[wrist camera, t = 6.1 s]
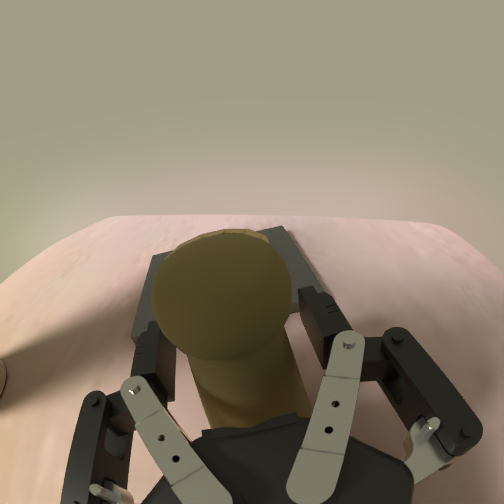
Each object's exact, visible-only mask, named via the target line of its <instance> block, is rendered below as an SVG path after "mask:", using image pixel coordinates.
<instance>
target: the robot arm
mask: <svg viewBox="0 0 504 504" xmlns="http://www.w3.org/2000/svg"><path fill="white" fill-rule="evenodd" d="M298 299H299V310H300V316H301V320H302V322H303V325H304V327H305V329H306V332H307V334H308V336H309V338H310V341H311V343H312V345H313V347H314V350H315V352H316V354H317V357H318V359H319V361H320V363H321V366H322V368H323V370H325V369H327V370H326V374H325V375H324V376H323V378H322V382H321V385H320V389H319V392H318V396H317V399H316V403H315V406H314V409H313V413H312V416H311V418H310V417H298V415H297V412H292V413H288V414H285V415H280V416H276V417H273V418H270V419H268V420H266V421H264V422H262V423H260V424H257V425H255V426H253V427H250V428H236V427H221V428H214V429H207V430H202V437H199V438H197V439H195V440H194V441H191V440H190V438H189V437H188V436H187V435H186V433H185V432H184V431H183V429H182V428H181V427H180V425H179V424H178V423H177V421H176V420H175V419H174V417H173V416H172V414H171V413H170V411H169V410H168V409H167V402H171V401H175V369H176V346H175V345H174V344H172V343H171V342H170V341H169V340H168V339H167V338H166V337H165V336H164V334H163V333H162V331H161V329H160V327H159V325H158V323H157V321H156V320H151V321H149V322H148V328H147V331H145V332H142V333H141V334H140V336H139V338H138V339H137V343H136V349H135V353H134V354H135V355H134V358H133V364H132V370H131V376H130V378H128V379H127V380H125V381H124V382H123V384H122V386H121V389H120V390H119V391H117V392H115V393H112V394H109V395H107V396H106V395H105V394H104V393H103V392H101V391H92V392H90V393H89V394H88V395H87V396H86V397H85V398H84V400H83V403H82V406H81V410H80V414H79V417H78V421H77V425H76V428H75V432H74V436H73V440H72V445H71V449H70V453H69V458H68V463H67V467H66V473H65V478H64V484H63V489H62V496H61V503H60V504H135V503H134V499H133V497H132V495H131V493H130V492H129V491H127V483H128V473H129V464H130V455H131V447H132V440H133V433H134V431H135V430H137V432H138V433H139V435H140V437H141V439H142V440H143V442H144V444H145V446H146V447H147V449H148V451H149V452H150V454H151V455H152V457H153V459H154V460H155V462H156V463H157V465H158V466H159V468H160V470H161V471H162V473H163V474H164V475H163V476H162V478H161V479H160V480H159V481H158V483H157V484H156V485H155V487H154V488H153V489H152V490H151V492H150V493H149V494H148V495H147V497H146V498H145V499H144V500H143V502H142V503H141V504H412V497H413V492H414V485H415V484H417V483H418V482H420V481H422V480H423V479H425V478H426V477H428V476H430V475H431V474H433V473H434V472H436V471H437V470H444V469H446V468H448V467H449V466H450V465H452V464H453V463H454V462H455V461H457V460H458V459H459V458H460V457H462V456H463V455H464V454H465V453H467V452H468V451H469V450H470V449H471V448H472V447H474V446H475V445H476V444H477V443H478V442H479V441H480V439H481V437H482V434H483V427H482V424H481V422H480V420H479V419H478V417H477V416H476V415H475V413H474V412H473V411H472V409H471V408H470V407H469V405H468V404H467V403H466V401H465V400H464V399H463V397H462V396H461V395H460V393H459V392H458V391H457V390H456V388H455V387H454V386H453V384H452V383H451V382H450V381H449V379H448V378H447V377H446V376H445V374H444V373H443V372H442V371H441V369H440V368H439V367H438V366H437V364H436V363H435V362H434V361H433V360H432V358H431V357H430V356H429V355H428V354H427V352H426V351H425V350H424V349H423V348H422V346H421V345H420V344H419V343H418V342H417V341H416V339H415V338H414V337H413V336H412V335H411V334H410V332H409V331H407V330H406V329H404V328H401V327H393V328H390V329H388V330H386V331H385V332H384V334H383V337H370V338H368V337H363V336H362V335H361V334H360V333H358V332H356V331H353V329H352V328H351V326H350V325H349V323H348V321H347V320H346V318H345V316H344V315H343V313H342V312H341V310H340V308H339V307H338V305H337V304H336V302H335V300H334V299H333V297H332V296H330V295H329V294H327V293H326V292H322V293H317V291H316V290H315V288H314V286H313V285H309V286H305V287H301V288H298ZM5 380H6V369H5V366H4V364H3V363H2V361H1V360H0V395H1V393H2V391H3V388H4V385H5ZM363 381H377V382H378V384H379V385H380V387H381V389H382V390H383V392H384V393H385V395H386V396H387V398H388V400H389V401H390V403H391V404H392V406H393V407H394V409H395V411H396V412H397V414H398V415H399V417H400V419H401V420H402V422H403V423H404V425H405V427H406V428H407V430H408V433H407V435H406V436H405V439H404V448H405V451H406V459H405V462H402V461H401V460H399V459H397V458H395V457H392V456H390V455H388V454H386V453H384V452H382V451H380V450H378V449H375V448H373V447H371V446H369V445H367V444H365V443H363V442H361V441H359V440H358V439H356V438H354V437H352V436H350V435H349V434H350V429H351V425H352V420H353V416H354V411H355V406H356V400H357V395H358V389H359V383H360V382H363Z"/></svg>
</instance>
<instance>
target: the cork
mask: <svg viewBox="0 0 504 504" xmlns="http://www.w3.org/2000/svg"><path fill="white" fill-rule="evenodd" d="M150 299H151V305H152V310H153V313H154V316H155V318H156V321H157V323H158V325H159V327H160V329H161V331H162V333H163V334H164V336H165V337H166V338H167V339H168V340H169V341H170V342H171V343H172V344H174V345H175V346H176V347H177V348H178V349H179V350H181V351H182V352H183V353H184V354H187V357H188V361H189V364H190V367H191V371H192V374H193V377H194V380H195V383H196V386H197V389H198V392H199V395H200V398H201V401H202V404H203V407H204V410H205V413H206V416H207V418H208V421H209V424H210V427H211V429H214V428H221V427H236V428H250V427H253V426H255V425H257V424H260V423H262V422H264V421H266V420H268V419H270V418H273V417H276V416H280V415H285V414H288V413H292V412H297V415H298V417H310V404H309V400H308V397H307V394H306V391H305V388H304V385H303V382H302V379H301V376H300V373H299V370H298V367H297V364H296V361H295V358H294V355H293V352H292V349H291V346H290V343H289V340H288V337H287V334H286V331H285V328H284V325H285V323H286V321H287V319H288V317H289V314H290V309H291V304H292V284H291V276H290V273H289V271H288V269H287V266H286V264H285V262H284V260H283V259H282V257H281V255H280V254H279V253H278V252H277V251H276V250H275V248H274V247H273V246H272V245H270V244H269V243H267V242H266V241H264V240H263V239H261V238H257V237H253V236H250V235H245V234H232V233H228V234H219V235H213V236H209V237H205V238H201V239H198V240H196V241H193V242H191V243H188V244H186V245H185V246H183V247H181V248H179V249H178V250H176V251H175V252H174V253H172V254H171V255H170V256H169V257H168V258H167V259H166V260H164V261H163V262H162V263H161V265H160V266H159V268H158V269H157V271H156V272H155V275H154V279H153V284H152V290H151V295H150Z"/></svg>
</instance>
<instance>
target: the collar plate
mask: <svg viewBox="0 0 504 504" xmlns="http://www.w3.org/2000/svg"><path fill="white" fill-rule="evenodd" d="M228 233H232V234H245V235H250V236H253V237H257V238H261V239H263V240H264V241H266V242H267V243H269V244H270V245H272V246H273V247H274V248H275V250H276V251H277V252H278V253H279V254H280V255H281V257H282V259H283V260H284V262H285V264H286V266H287V269H288V271H289V273H290V276H291V284H292V304H291V309H290V314H291V313H295V312H299V311H300V310H299V299H298V288H301V287H305V286H309V285H313V286H314V288H315V290H316V291H317V293H322V292H324V290H323V288H322V287H321V285H320V284H319V282H318V280H317V279H316V277H315V276H314V274H313V272H312V271H311V269H310V268H309V266H308V264H307V263H306V261H305V260H304V258H303V257H302V255H301V253H300V252H299V250H298V249H297V247H296V246H295V244H294V243H293V241H292V239H291V238H290V236H289V235H288V233H287V232H286V230H285V229H284V227H283V226H278V227H274V228H269V229H265V230H260V231H256V232H255V231H253V230H250V229H223V230H218V231H214V232H210V233H205V234H202V235H199V236H197V237H195V238H193V239H191V240H189V241H187V242H184V243H182V244H180V245H179V246H178V247H177V248H176V249H175V250H173V251H169V252H165V253H161V254H157V255H153V256H152V260H151V263H150V266H149V270H148V273H147V277H146V280H145V284H144V287H143V291H142V295H141V299H140V303H139V306H138V310H137V314H136V318H135V323H134V327H133V331H132V335H131V338H132V340H133V341H134V343H135V345H136V343H137V339H138V338H139V336H140V334H141V333H142V332H145V331H147V328H148V322H149V321H151V320H156V318H155V316H154V313H153V310H152V305H151V299H150V295H151V290H152V284H153V279H154V275H155V272H156V271H157V269H158V268H159V266H160V265H161V263H162V262H163V261H164V260H166V259H167V258H168V257H169V256H170V255H171V254H172V253H174V252H175V251H176V250H178V249H179V248H181V247H183V246H185V245H186V244H188V243H191V242H193V241H196V240H198V239H201V238H205V237H209V236H213V235H219V234H228Z"/></svg>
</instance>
